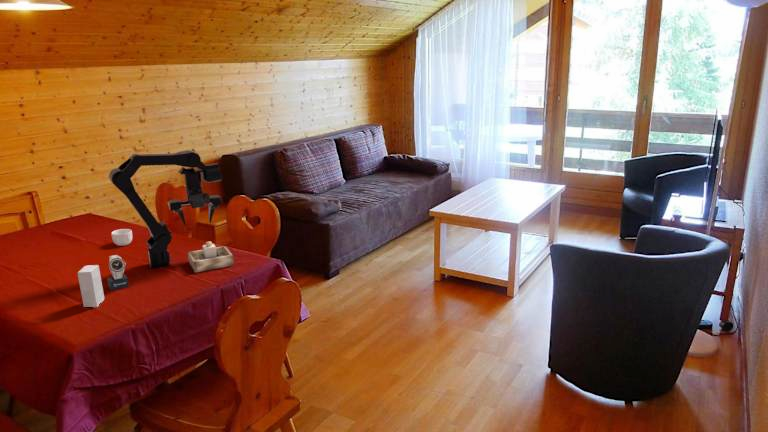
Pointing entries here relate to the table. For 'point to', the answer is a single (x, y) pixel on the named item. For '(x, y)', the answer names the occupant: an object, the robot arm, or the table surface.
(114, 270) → the watch
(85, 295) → the skincare box
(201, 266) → the socket box
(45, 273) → the table surface
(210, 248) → the connector plug
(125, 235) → the teacup
